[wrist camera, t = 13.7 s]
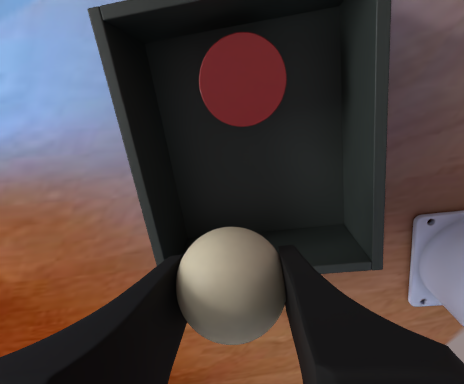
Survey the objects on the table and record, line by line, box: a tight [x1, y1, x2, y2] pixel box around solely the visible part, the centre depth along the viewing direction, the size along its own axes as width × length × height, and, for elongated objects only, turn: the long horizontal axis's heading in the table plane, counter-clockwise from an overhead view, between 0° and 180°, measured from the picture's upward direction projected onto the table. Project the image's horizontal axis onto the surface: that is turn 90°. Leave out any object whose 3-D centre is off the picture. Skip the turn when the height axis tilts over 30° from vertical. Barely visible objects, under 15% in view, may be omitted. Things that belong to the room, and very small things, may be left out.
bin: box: [88, 0, 391, 274], centre depth 16 cm, size 13×15×6 cm
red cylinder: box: [199, 32, 287, 127], centre depth 16 cm, size 5×5×4 cm
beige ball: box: [176, 227, 286, 345], centre depth 11 cm, size 4×4×4 cm
